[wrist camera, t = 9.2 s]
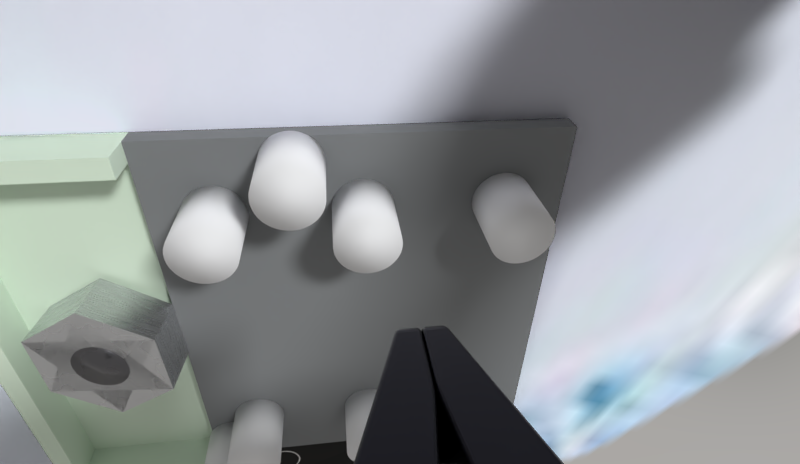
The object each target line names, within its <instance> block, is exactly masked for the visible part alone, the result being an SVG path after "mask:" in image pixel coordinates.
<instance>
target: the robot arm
mask: <svg viewBox="0 0 800 464" xmlns="http://www.w3.org/2000/svg"><path fill="white" fill-rule="evenodd" d="M354 464H564V463H563V462H562V461H561V460H560V459H559V457H558V456H557V455H556V454H555V453H554V452H553V450H552V449H551V448H550V447H549V446H548V445H547V443H546V442H545V441H544V440H543V439H542V437H541V436H540V435H539V434H538V433H537V432H536V430H535V429H534V428H533V427H532V426H531V425H530V423H529V422H528V421H527V420H526V419H525V417H524V416H523V415H522V414H521V413H520V412H519V410H518V409H517V408H516V407H515V406H514V405H513V403H512V402H511V401H510V400H509V399H508V398H507V396H506V395H505V394H504V393H503V392H502V390H501V389H500V388H499V387H498V386H497V385H496V383H495V382H494V381H493V380H492V379H491V378H490V376H489V375H488V374H487V373H486V372H485V371H484V369H483V368H482V367H481V366H480V365H479V363H478V362H477V361H476V360H475V359H474V358H473V356H472V355H471V354H470V353H469V352H468V351H467V349H466V348H465V347H464V346H463V345H462V343H461V342H460V341H459V340H458V339H457V338H456V336H455V335H454V334H453V333H452V332H451V331H450V329H449V328H448V327H446V326H443V325H441V326H429V327H424V328H423V329H422V330H420V329H419V328H406V329H398V330H397V331H396V332H395V334H394V337H393V340H392V343H391V347H390V350H389V353H388V356H387V359H386V362H385V366H384V369H383V372H382V375H381V378H380V381H379V385H378V388H377V391H376V394H375V397H374V400H373V404H372V407H371V410H370V413H369V416H368V419H367V423H366V426H365V429H364V432H363V435H362V438H361V442H360V445H359V448H358V451H357V454H356V457H355V461H354Z"/></svg>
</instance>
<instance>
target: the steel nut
mask: <svg viewBox="0 0 800 464" xmlns="http://www.w3.org/2000/svg"><path fill="white" fill-rule="evenodd" d="M21 343H22V345H23V346H24V348H25V350H26V351H27V353H28V355H29V356H30V358H31V360H32V361H33V363H34V365H35V366H36V368H37V370H38V371H39V373H40V375H41V376H42V378H43V380H44V381H45V383H46V385H47V386H48V388H49V390H50V391H51V392H54V393H57V394H61V395H64V396H68V397H71V398H75V399H78V400H82V401H86V402H89V403H93V404H96V405H100V406H103V407H107V408H110V409H114V410H117V411H121V412H125V411H127V410H129V409H131V408H133V407H136V406H138V405H140V404H142V403H144V402H146V401H149V400H151V399H153V398H155V397H157V396H160V395H162V394H164V393H166V392H168V391H170V390H173V389H174V387H175V384H176V382H177V380H178V377H179V375H180V372H181V370H182V368H183V365H184V363H185V361H186V358H187V356H188V353H189V351H188V348H187V345H186V342H185V339H184V336H183V333H182V330H181V327H180V324H179V321H178V318H177V316H176V313H175V310H174V307H173V304H171V303H168V302H165V301H162V300H160V299H157V298H154V297H151V296H148V295H146V294H143V293H140V292H137V291H134V290H132V289H129V288H126V287H123V286H120V285H118V284H115V283H112V282H109V281H106V280H104V279H101V278H99V279H97V280H96V281H94V282H92V283H90V284H89V285H87V286H85V287H83V288H81V289H80V290H78V291H76V292H74V293H73V294H71V295H69V296H67V297H65V298H64V299H62V300H60V301H58V302H57V303H55V304H53V305H51V306H50V307H49V308H48V309H47V311H46V312H45V313H44V314H43V316H42V317H41V318H40V319H39V321H38V322H37V323H36V324H35V326H34V327H33V328H32V329H31V331H30V332H29V333H28V334H27V336H26V337H25V338H24V339H23V341H22V342H21Z"/></svg>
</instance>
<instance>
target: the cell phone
mask: <svg viewBox="0 0 800 464" xmlns="http://www.w3.org/2000/svg"><path fill="white" fill-rule="evenodd" d="M280 464H354V461H352V460H351V459H350V458H349V457H348V455H347V441H340V442H330V443H321V444H311V445H302V446H292V447H283V448H282V450H281V463H280Z"/></svg>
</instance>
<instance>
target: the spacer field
mask: <svg viewBox="0 0 800 464" xmlns="http://www.w3.org/2000/svg"><path fill="white" fill-rule="evenodd" d="M576 130H577V126H576V125H575V124H574V123H573V122H572V121H571V120H570V119H569V118H567V119H535V120H503V121H471V122H439V123H407V124H375V125H343V126H311V127H279V128H247V129H215V130H183V131H151V132H119V133H87V134H55V135H23V136H0V384H1V385H2V387H3V388H4V390H5V392H6V393H7V395H8V396H9V398H10V399H11V401H12V402H13V404H14V405H15V407H16V408H17V410H18V411H19V413H20V415H21V416H22V418H23V419H24V421H25V422H26V424H27V425H28V427H29V428H30V430H31V431H32V433H33V434H34V436H35V438H36V439H37V441H38V442H39V444H40V445H41V447H42V448H43V450H44V451H45V453H46V454H47V456H48V457H49V459H50V461H51V462H52V464H280V463H281V450H282V448H283V447H292V446H302V445H311V444H321V443H330V442H340V441H347V455H348V457H349V458H350V459H351V460H352V461H355V457H356V454H357V451H358V448H359V445H360V442H361V438H362V435H363V432H364V429H365V426H366V423H367V419H368V416H369V413H370V410H371V407H372V404H373V400H374V397H375V394H376V391H377V388H378V385H379V381H380V378H381V375H382V372H383V369H384V366H385V362H386V359H387V356H388V353H389V350H390V347H391V343H392V340H393V337H394V334H395V332H396V331H397V330H398V329H406V328H419V329H420V330H422V329H423V328H424V327H429V326H441V325H443V326H446V327H448V328H449V329H450V331H451V332H452V333H453V334H454V335H455V336H456V338H457V339H458V340H459V341H460V342H461V343H462V345H463V346H464V347H465V348H466V349H467V351H468V352H469V353H470V354H471V355H472V356H473V358H474V359H475V360H476V361H477V362H478V363H479V365H480V366H481V367H482V368H483V369H484V371H485V372H486V373H487V374H488V375H489V376H490V378H491V379H492V380H493V381H494V382H495V383H496V385H497V386H498V387H499V388H500V389H501V390H502V392H503V393H504V394H505V395H506V396H507V398H508V399H509V400H510V401H511V402H512V403H514V399H515V394H516V390H517V386H518V381H519V377H520V373H521V368H522V364H523V360H524V355H525V351H526V347H527V342H528V338H529V334H530V329H531V325H532V321H533V316H534V312H535V308H536V303H537V299H538V295H539V290H540V286H541V282H542V277H543V273H544V269H545V264H546V260H547V256H548V251H549V247H550V245H551V243H552V241H553V239H554V236H555V221H556V217H557V212H558V208H559V204H560V199H561V195H562V191H563V186H564V182H565V178H566V173H567V169H568V165H569V160H570V156H571V152H572V147H573V143H574V139H575V134H576ZM99 278H101V279H104V280H106V281H109V282H112V283H115V284H118V285H120V286H123V287H126V288H129V289H132V290H134V291H137V292H140V293H143V294H146V295H148V296H151V297H154V298H157V299H160V300H162V301H165V302H168V303H171V304H173V307H174V310H175V313H176V316H177V318H178V321H179V324H180V327H181V330H182V333H183V336H184V339H185V342H186V345H187V348H188V351H189V353H188V356H187V358H186V361H185V363H184V365H183V368H182V370H181V372H180V375H179V377H178V380H177V382H176V384H175V387H174V389H173V390H170V391H168V392H166V393H164V394H162V395H160V396H157V397H155V398H153V399H151V400H149V401H146V402H144V403H142V404H140V405H138V406H136V407H133V408H131V409H129V410H127V411H125V412H121V411H117V410H114V409H110V408H107V407H103V406H100V405H96V404H93V403H89V402H86V401H82V400H78V399H75V398H71V397H68V396H64V395H61V394H57V393H54V392H51V391H50V390H49V388H48V386H47V385H46V383H45V381H44V380H43V378H42V376H41V375H40V373H39V371H38V370H37V368H36V366H35V365H34V363H33V361H32V360H31V358H30V356H29V355H28V353H27V351H26V350H25V348H24V346H23V345H22V343H21V342H22V341H23V339H24V338H25V337H26V336H27V334H28V333H29V332H30V331H31V329H32V328H33V327H34V326H35V324H36V323H37V322H38V321H39V319H40V318H41V317H42V316H43V314H44V313H45V312H46V311H47V309H48V308H49V307H50V306H51V305H53V304H55V303H57V302H58V301H60V300H62V299H64V298H65V297H67V296H69V295H71V294H73V293H74V292H76V291H78V290H80V289H81V288H83V287H85V286H87V285H89V284H90V283H92V282H94V281H96V280H97V279H99Z"/></svg>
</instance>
